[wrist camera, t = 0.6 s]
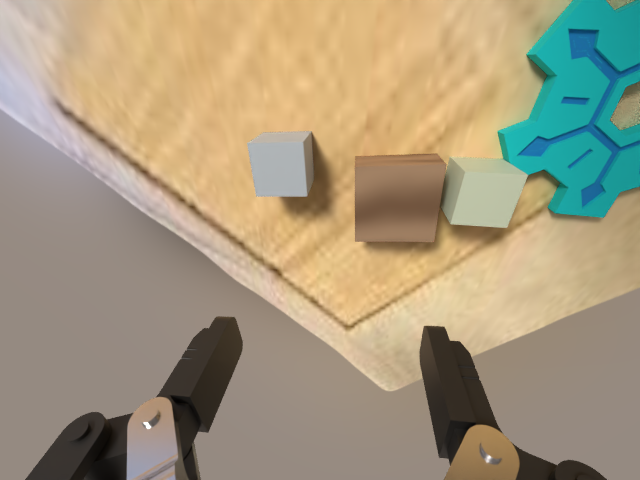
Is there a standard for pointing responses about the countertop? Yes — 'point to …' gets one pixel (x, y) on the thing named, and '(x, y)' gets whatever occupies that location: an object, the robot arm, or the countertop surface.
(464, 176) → the sage block
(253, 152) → the slate cube
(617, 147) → the decorative ornament
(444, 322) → the countertop surface
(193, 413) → the robot arm
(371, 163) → the walnut base
